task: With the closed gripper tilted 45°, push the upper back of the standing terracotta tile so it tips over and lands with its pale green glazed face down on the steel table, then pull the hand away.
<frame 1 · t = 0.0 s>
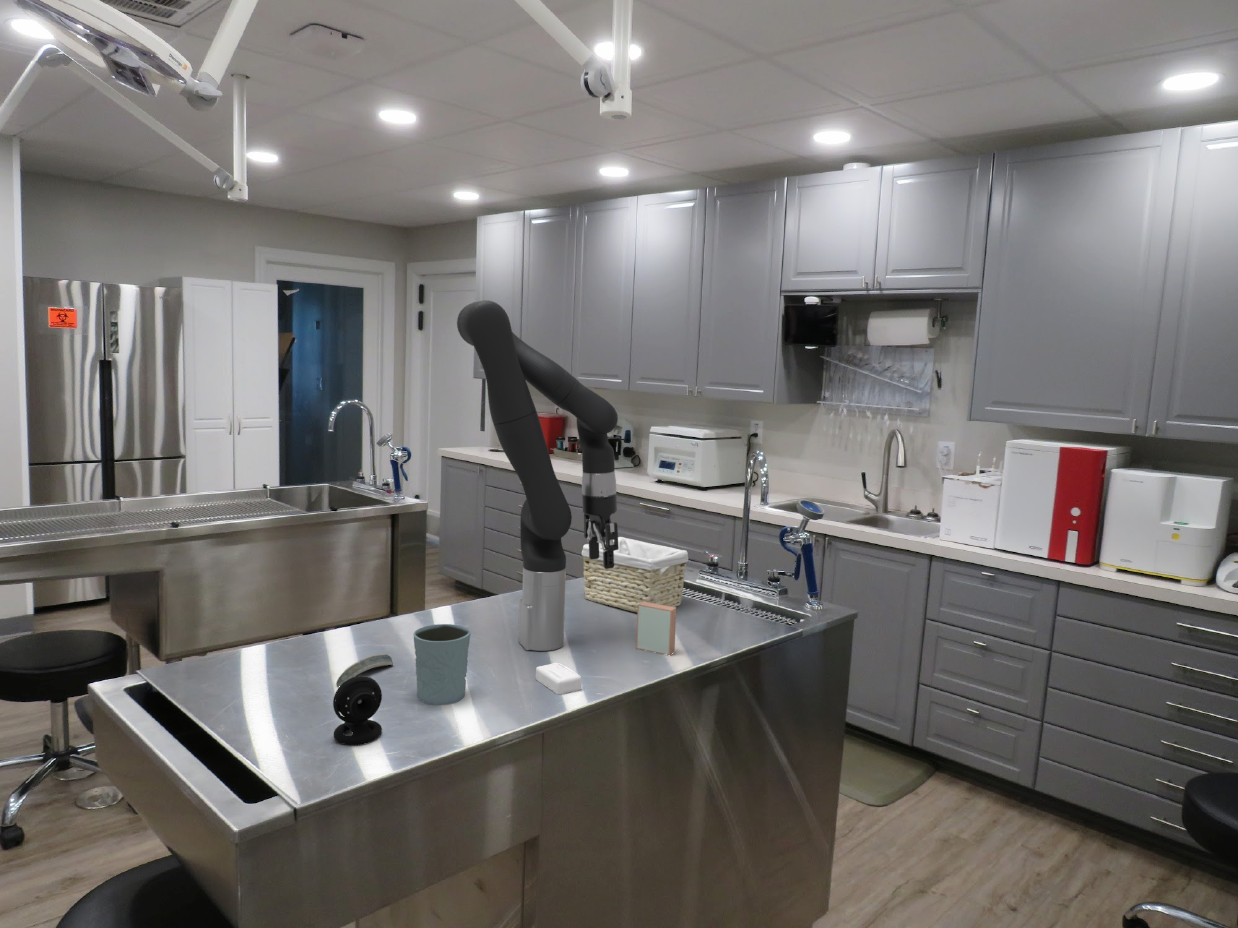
hand: (601, 563, 184), 17 cm above the table, tool pointing down, fingers open, 8 cm apart
ceramic fragment: (364, 677, 161), on the table
terracotta tile: (657, 605, 179), point 10 cm above the table
green ceramic cup: (441, 695, 153), on the table
soap: (558, 686, 160), on the table
webcam: (357, 736, 135), on the table
storage basket: (632, 603, 215), on the table
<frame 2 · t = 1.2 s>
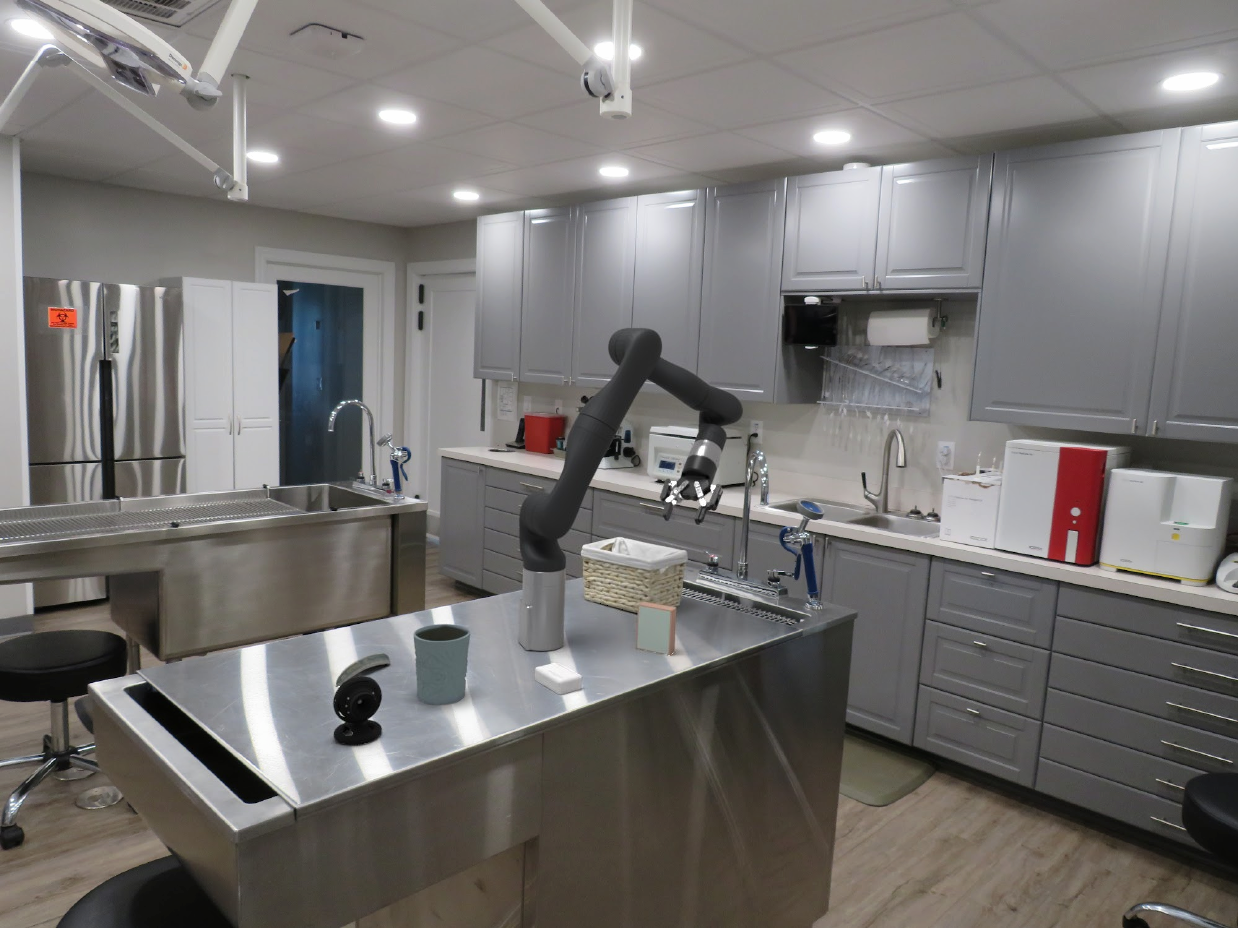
hand: (681, 520, 187), 27 cm above the table, tool tilted 45°, fingers open, 7 cm apart
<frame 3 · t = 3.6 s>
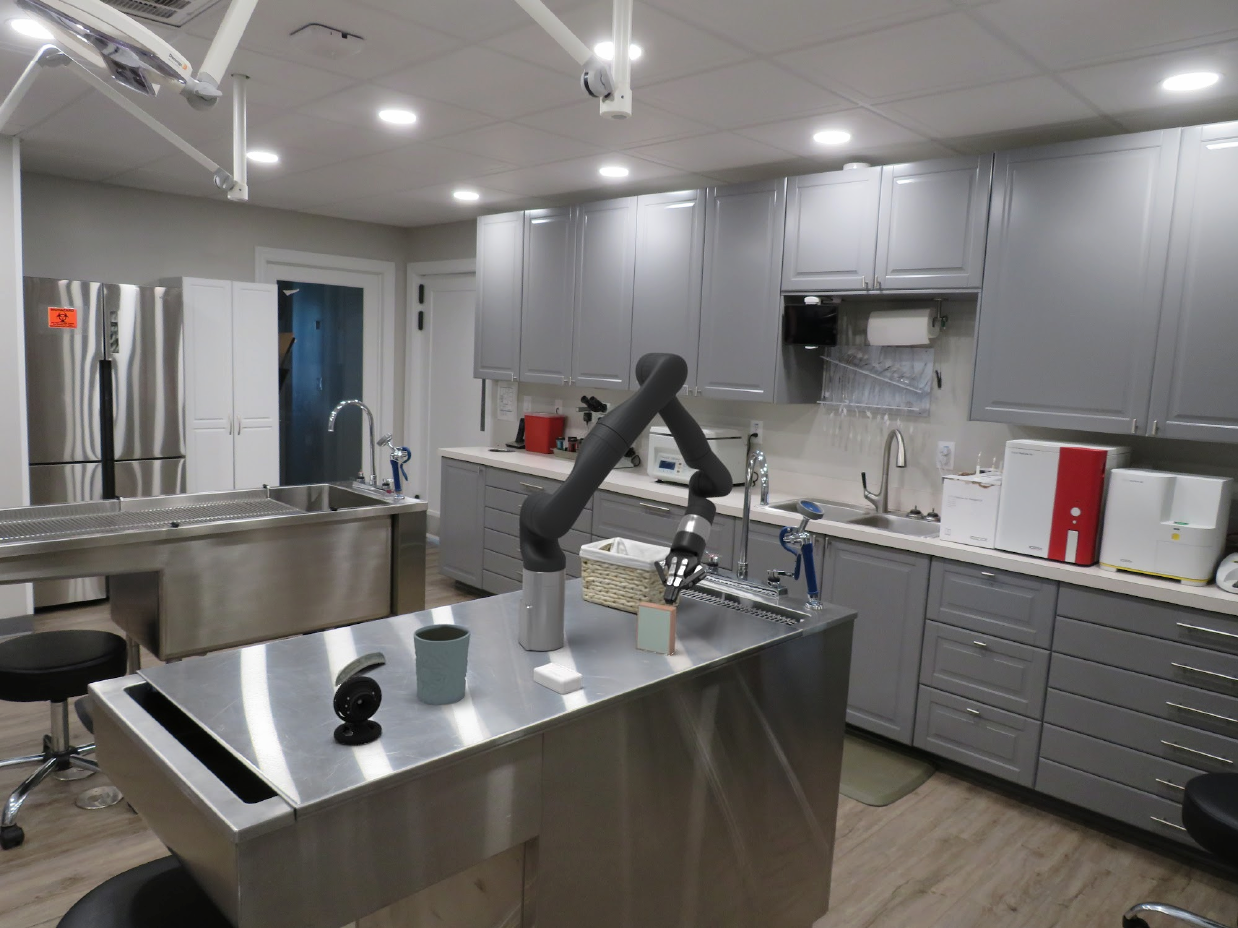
hand: (668, 602, 184), 9 cm above the table, tool tilted 45°, fingers closed
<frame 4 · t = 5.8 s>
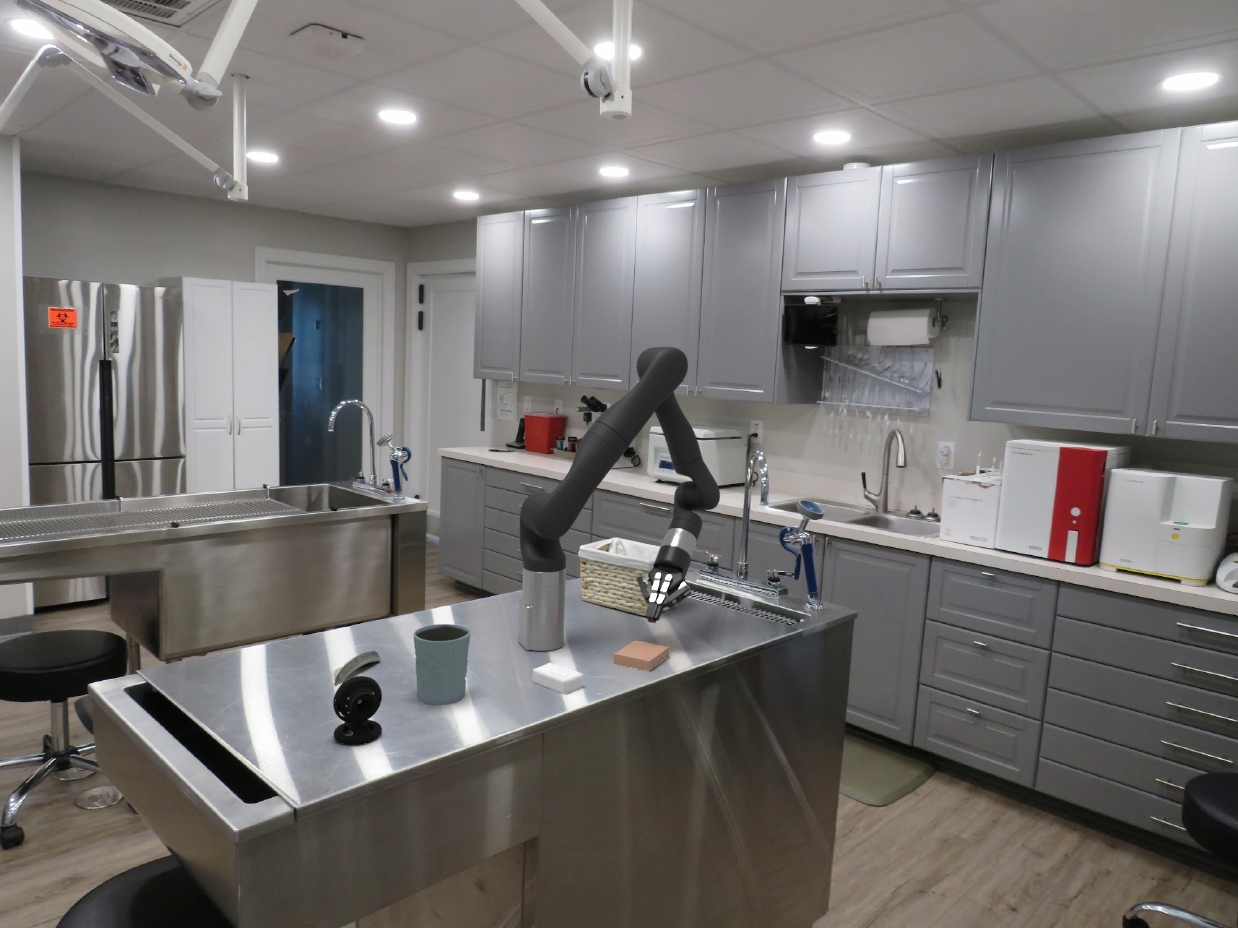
hand: (650, 620, 176), 7 cm above the table, tool tilted 45°, fingers closed
terracotta tile: (631, 663, 169), point 1 cm above the table, tilted 90°
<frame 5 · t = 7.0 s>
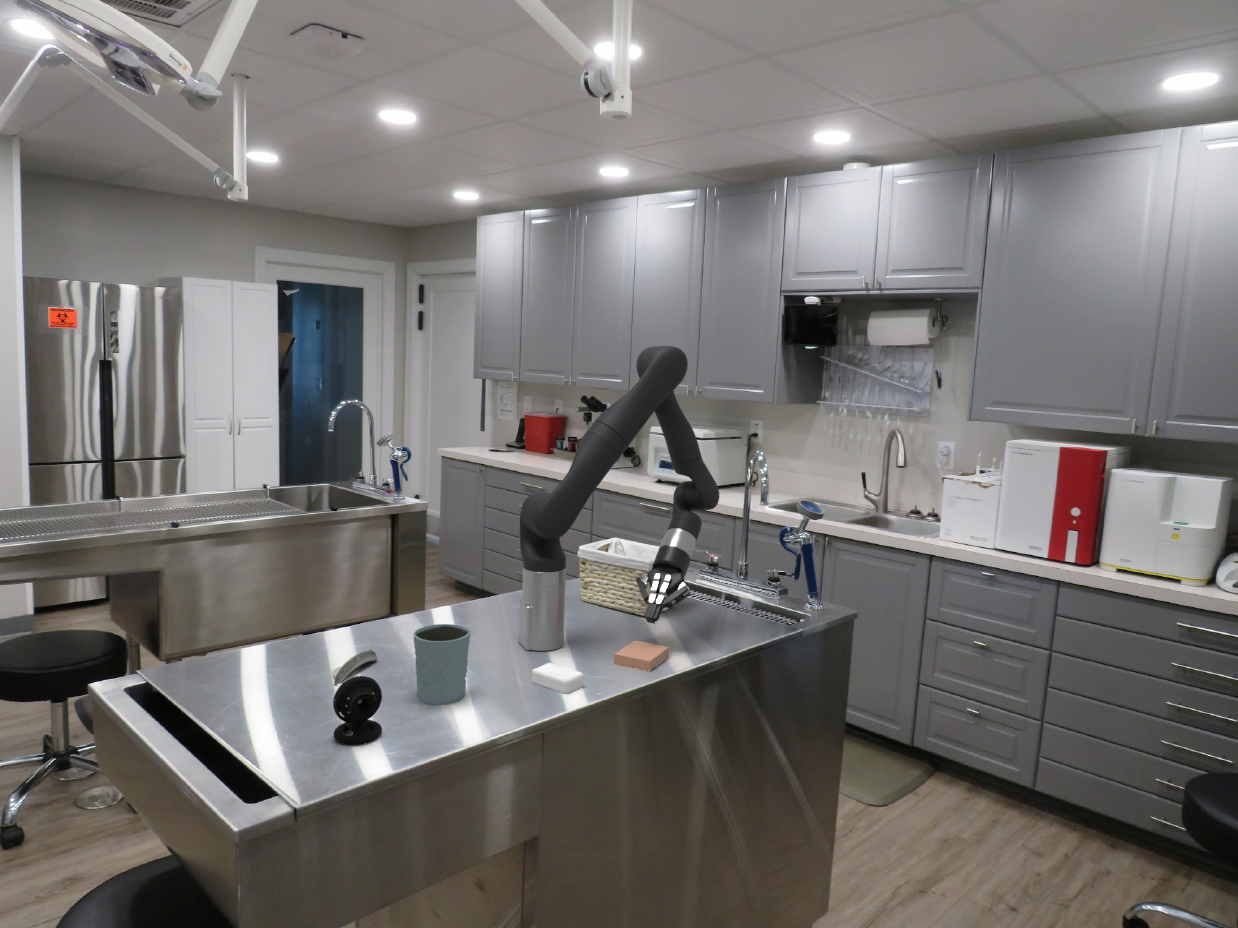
hand: (650, 621, 176), 8 cm above the table, tool tilted 45°, fingers closed
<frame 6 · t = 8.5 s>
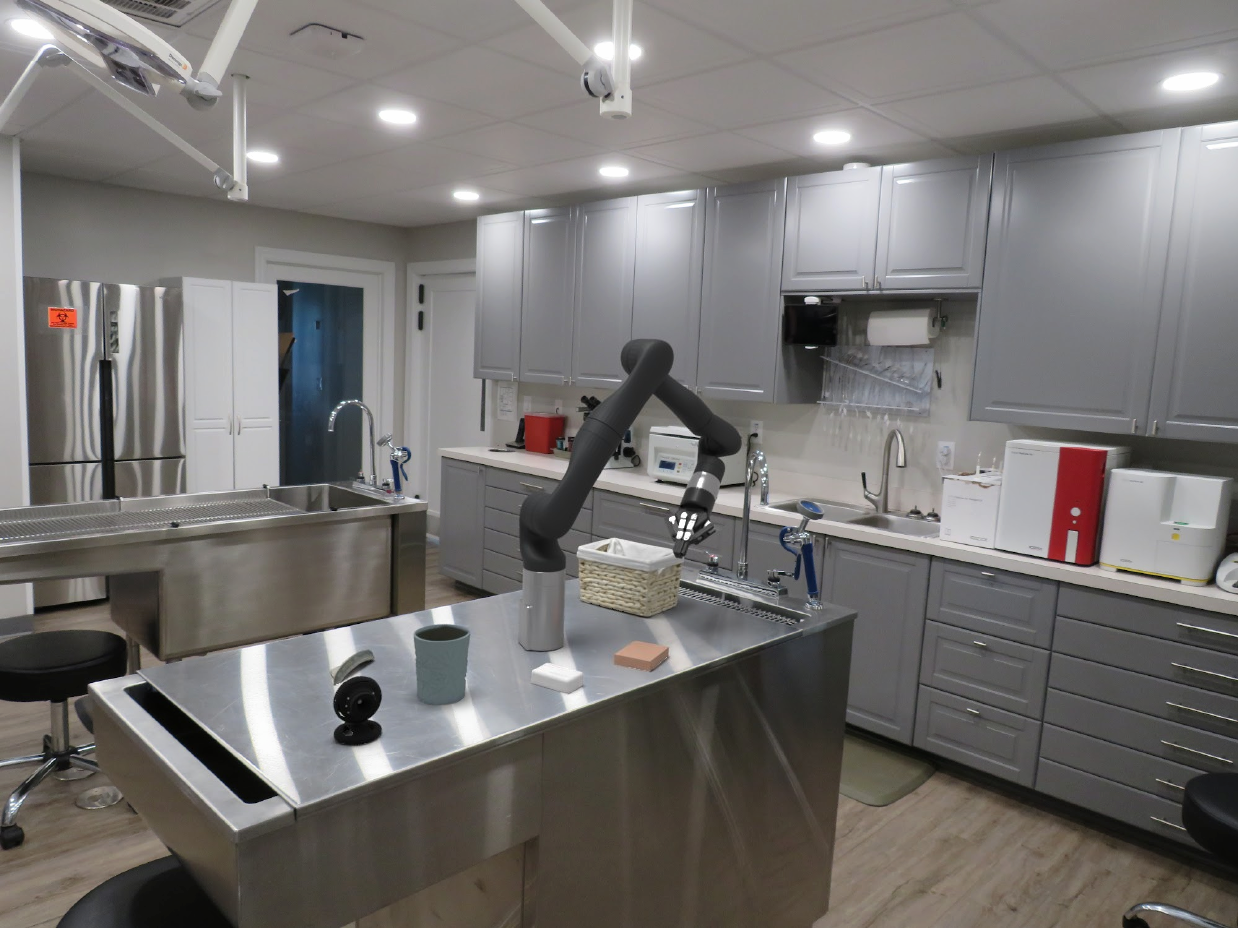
hand: (677, 556, 186), 19 cm above the table, tool tilted 45°, fingers closed
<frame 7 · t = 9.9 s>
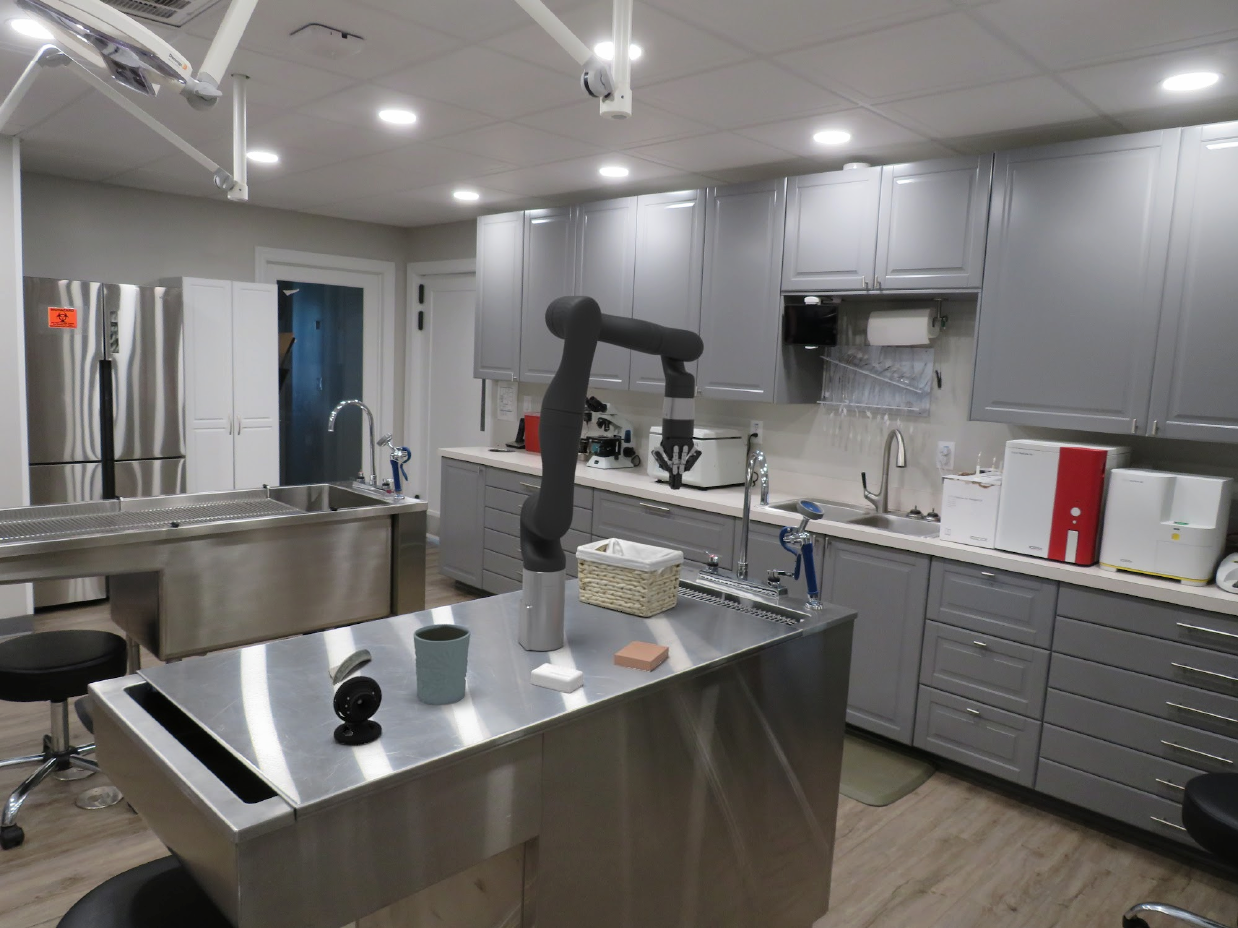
hand: (675, 489, 198), 32 cm above the table, tool pointing down, fingers closed
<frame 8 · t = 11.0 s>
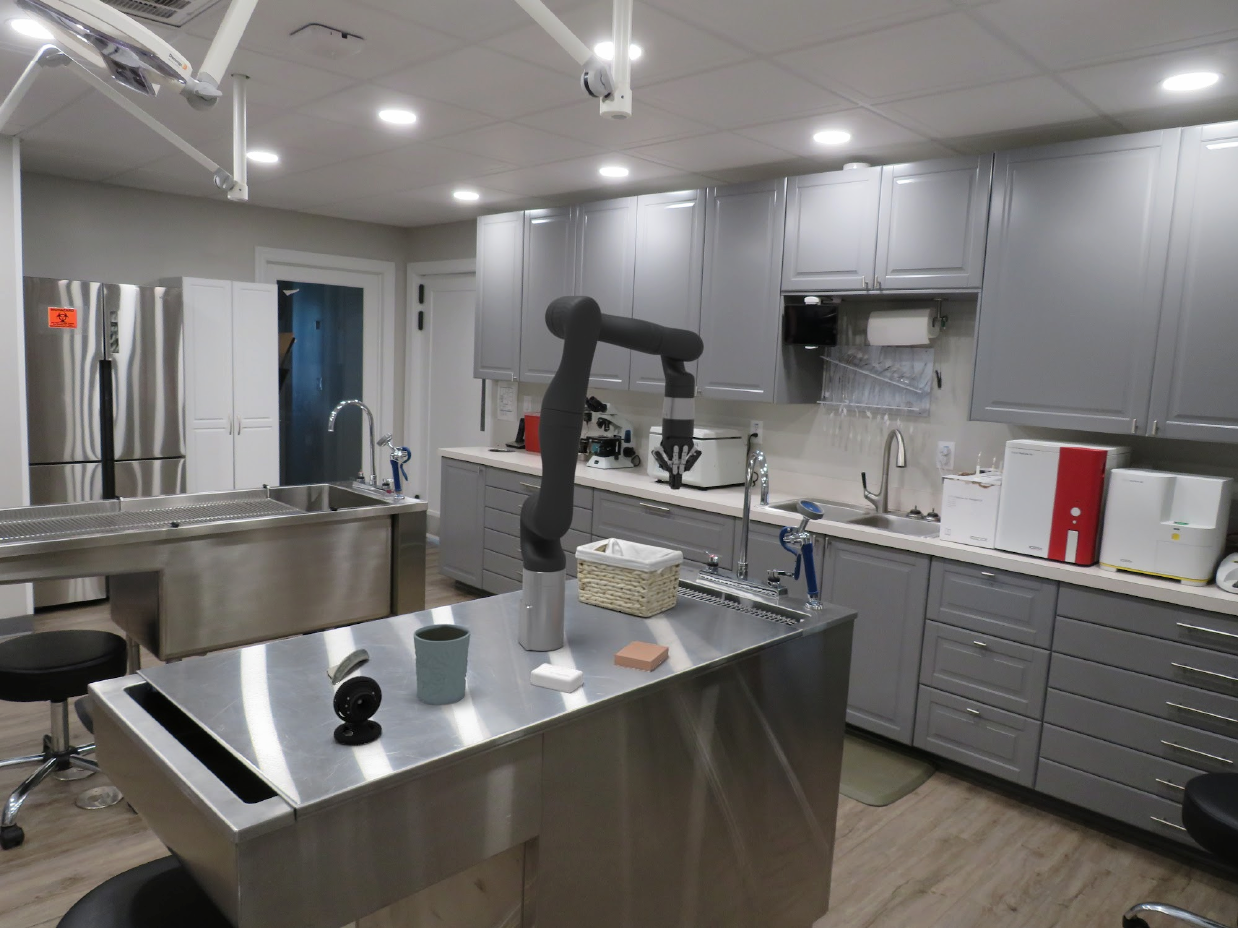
hand: (675, 489, 198), 32 cm above the table, tool pointing down, fingers closed
at the end: terracotta tile inside the target area (1.1 cm from its centre), point 0.9 cm above the table; terracotta tile tilted 90° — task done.
